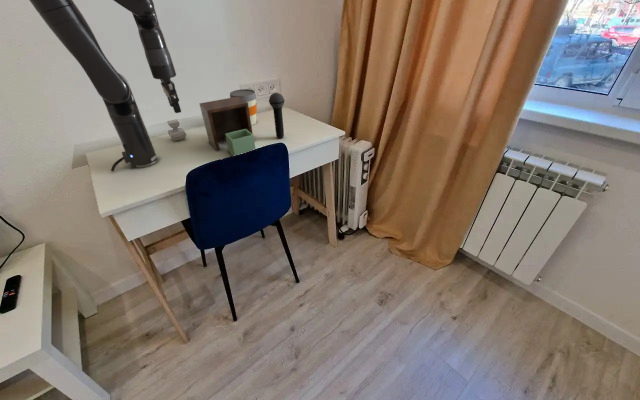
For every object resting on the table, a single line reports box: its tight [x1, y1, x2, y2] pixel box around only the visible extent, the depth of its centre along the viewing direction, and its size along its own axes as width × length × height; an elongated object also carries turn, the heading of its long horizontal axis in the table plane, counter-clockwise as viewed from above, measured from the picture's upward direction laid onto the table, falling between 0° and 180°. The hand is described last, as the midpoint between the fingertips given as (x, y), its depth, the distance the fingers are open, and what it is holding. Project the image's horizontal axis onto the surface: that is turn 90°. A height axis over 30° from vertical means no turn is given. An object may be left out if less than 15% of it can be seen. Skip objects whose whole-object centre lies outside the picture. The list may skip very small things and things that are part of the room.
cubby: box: [199, 97, 254, 152], centre depth 121 cm, size 17×11×17 cm, turn 124°
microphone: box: [268, 92, 285, 140], centre depth 123 cm, size 7×7×20 cm
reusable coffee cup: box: [229, 88, 258, 126], centre depth 140 cm, size 13×13×15 cm
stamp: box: [166, 119, 187, 142], centre depth 126 cm, size 9×7×8 cm
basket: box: [225, 129, 257, 157], centre depth 115 cm, size 9×8×8 cm
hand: (175, 109), depth 106 cm, fingers open, 8 cm apart
